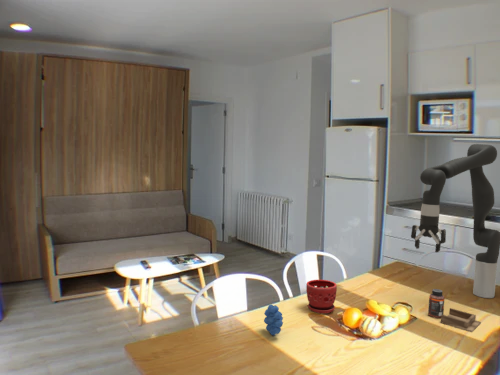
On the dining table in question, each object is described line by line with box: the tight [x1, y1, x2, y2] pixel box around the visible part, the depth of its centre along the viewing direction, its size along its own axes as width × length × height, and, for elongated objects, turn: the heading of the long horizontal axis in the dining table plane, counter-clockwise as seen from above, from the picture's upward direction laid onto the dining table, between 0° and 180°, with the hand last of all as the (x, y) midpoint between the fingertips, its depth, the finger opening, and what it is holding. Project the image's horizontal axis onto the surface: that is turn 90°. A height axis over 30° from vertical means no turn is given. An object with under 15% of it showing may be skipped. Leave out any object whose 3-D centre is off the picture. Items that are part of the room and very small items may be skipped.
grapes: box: [263, 304, 284, 336], centre depth 156 cm, size 12×7×12 cm, turn 27°
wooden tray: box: [439, 307, 482, 333], centre depth 170 cm, size 12×12×3 cm
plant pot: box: [305, 279, 338, 314], centre depth 181 cm, size 13×13×12 cm
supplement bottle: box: [427, 288, 445, 319], centre depth 176 cm, size 6×6×11 cm
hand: (427, 250), depth 184 cm, fingers open, 8 cm apart
